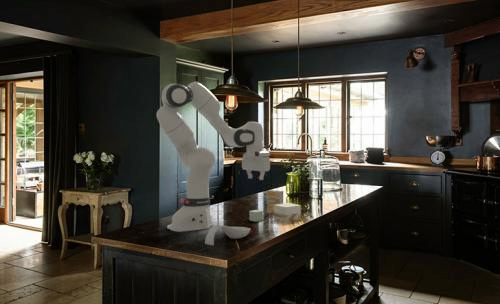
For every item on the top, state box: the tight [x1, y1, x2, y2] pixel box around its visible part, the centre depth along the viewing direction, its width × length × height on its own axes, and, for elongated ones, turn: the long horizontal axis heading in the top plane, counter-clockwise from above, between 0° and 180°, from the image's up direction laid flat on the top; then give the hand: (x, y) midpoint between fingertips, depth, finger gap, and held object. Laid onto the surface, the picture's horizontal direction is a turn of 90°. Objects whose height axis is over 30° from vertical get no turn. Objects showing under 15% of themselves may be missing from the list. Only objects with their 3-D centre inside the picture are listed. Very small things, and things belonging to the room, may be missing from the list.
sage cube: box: [248, 209, 264, 222], centre depth 218 cm, size 5×5×5 cm
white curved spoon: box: [204, 224, 251, 246], centre depth 178 cm, size 24×12×7 cm, turn 142°
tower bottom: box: [273, 212, 302, 223], centre depth 219 cm, size 10×10×4 cm
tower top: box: [274, 202, 302, 215], centre depth 219 cm, size 10×10×4 cm
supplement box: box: [267, 189, 284, 215], centre depth 236 cm, size 8×5×13 cm, turn 62°
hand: (255, 179), depth 217 cm, fingers open, 8 cm apart
